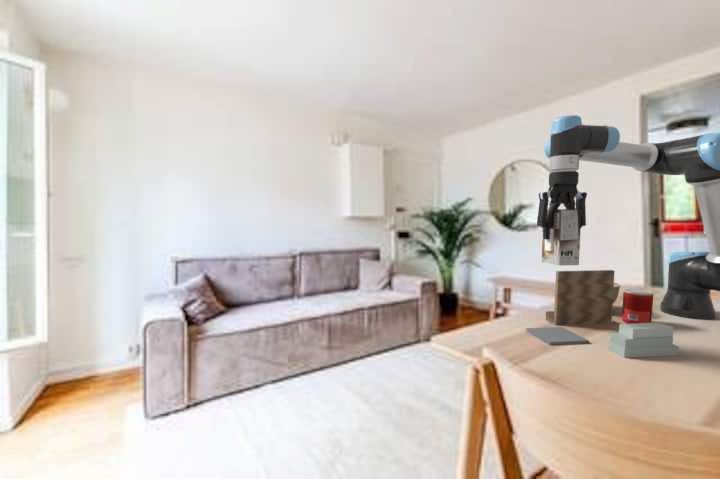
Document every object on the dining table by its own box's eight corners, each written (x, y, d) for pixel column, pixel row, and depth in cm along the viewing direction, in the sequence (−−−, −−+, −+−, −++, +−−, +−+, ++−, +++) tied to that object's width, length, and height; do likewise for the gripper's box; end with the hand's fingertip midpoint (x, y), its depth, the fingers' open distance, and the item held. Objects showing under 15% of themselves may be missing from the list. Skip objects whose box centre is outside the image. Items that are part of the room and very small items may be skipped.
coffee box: (580, 265, 102) (583, 209, 101) (559, 266, 101) (561, 209, 100) (559, 261, 111) (562, 209, 110) (540, 261, 110) (542, 209, 109)
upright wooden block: (598, 318, 126) (601, 267, 125) (611, 323, 121) (614, 270, 119) (545, 319, 124) (547, 268, 123) (555, 325, 119) (558, 271, 117)
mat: (561, 329, 115) (561, 326, 115) (589, 343, 103) (589, 340, 103) (526, 330, 113) (526, 328, 113) (549, 344, 101) (550, 342, 101)
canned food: (656, 327, 117) (658, 294, 116) (628, 325, 119) (631, 292, 118) (642, 319, 125) (645, 288, 124) (617, 318, 126) (619, 287, 125)
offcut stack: (660, 348, 100) (662, 321, 99) (678, 355, 95) (680, 327, 94) (608, 350, 98) (610, 324, 97) (624, 358, 93) (625, 330, 92)
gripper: (540, 169, 99) (536, 252, 101) (604, 170, 101) (600, 251, 103) (524, 172, 107) (521, 249, 109) (585, 173, 109) (581, 248, 111)
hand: (559, 250), depth 106 cm, fingers closed on coffee box, 6 cm apart
